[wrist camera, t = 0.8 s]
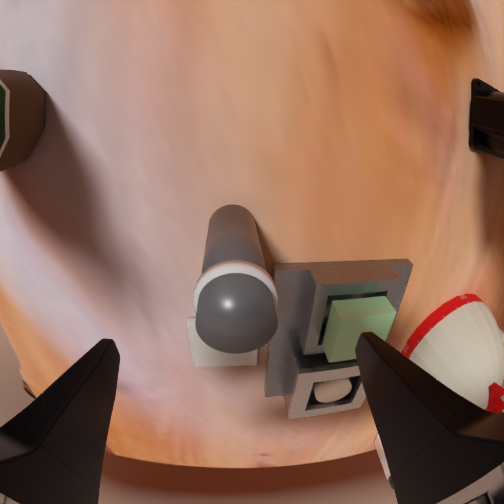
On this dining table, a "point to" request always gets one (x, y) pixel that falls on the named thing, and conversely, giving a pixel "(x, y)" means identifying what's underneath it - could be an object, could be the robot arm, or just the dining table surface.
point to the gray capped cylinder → (234, 286)
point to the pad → (215, 352)
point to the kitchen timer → (462, 350)
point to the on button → (355, 325)
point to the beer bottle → (19, 116)
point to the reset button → (331, 389)
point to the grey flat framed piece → (322, 327)
